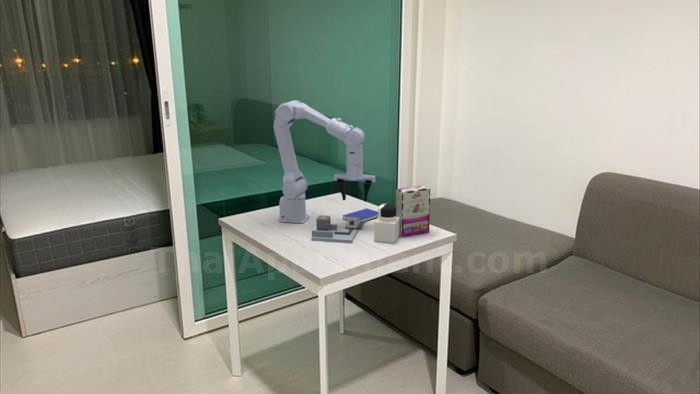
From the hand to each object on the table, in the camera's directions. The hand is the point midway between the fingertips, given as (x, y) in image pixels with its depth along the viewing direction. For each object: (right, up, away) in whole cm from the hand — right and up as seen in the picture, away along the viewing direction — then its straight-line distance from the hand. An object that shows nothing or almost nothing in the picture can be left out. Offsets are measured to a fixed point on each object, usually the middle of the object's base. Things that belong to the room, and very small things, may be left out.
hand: (354, 200), depth 190 cm
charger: (-11, -11, -6) cm, 17 cm away
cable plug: (0, -8, +2) cm, 8 cm away
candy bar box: (+20, -12, -4) cm, 23 cm away
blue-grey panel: (-7, -12, -5) cm, 15 cm away
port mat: (0, -9, +3) cm, 10 cm away
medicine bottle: (+11, -13, -9) cm, 19 cm away
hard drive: (+3, -7, +11) cm, 13 cm away
